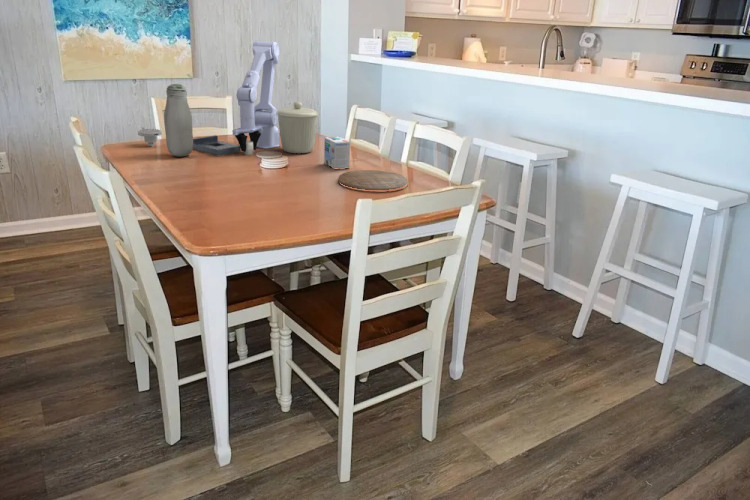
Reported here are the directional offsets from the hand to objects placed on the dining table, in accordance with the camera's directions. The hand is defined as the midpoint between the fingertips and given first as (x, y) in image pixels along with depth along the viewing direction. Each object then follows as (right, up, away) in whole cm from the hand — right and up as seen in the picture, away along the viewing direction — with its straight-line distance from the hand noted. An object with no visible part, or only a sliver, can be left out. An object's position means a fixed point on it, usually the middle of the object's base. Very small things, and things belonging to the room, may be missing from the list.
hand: (248, 150), depth 240 cm
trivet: (+52, -18, -33) cm, 64 cm away
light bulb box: (+38, -9, -12) cm, 41 cm away
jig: (-14, 0, +3) cm, 14 cm away
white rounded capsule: (0, -1, +1) cm, 2 cm away
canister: (+19, +1, +9) cm, 22 cm away
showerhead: (-43, +3, +6) cm, 43 cm away
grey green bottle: (-25, -4, -9) cm, 27 cm away
